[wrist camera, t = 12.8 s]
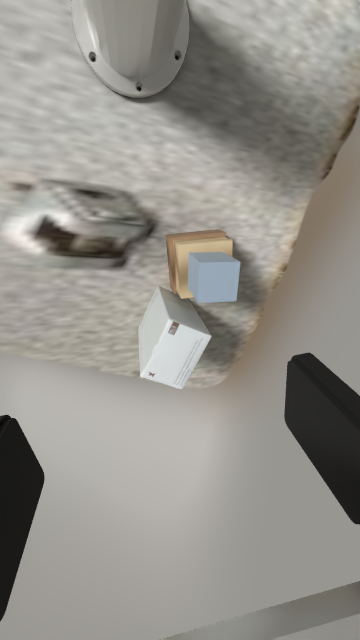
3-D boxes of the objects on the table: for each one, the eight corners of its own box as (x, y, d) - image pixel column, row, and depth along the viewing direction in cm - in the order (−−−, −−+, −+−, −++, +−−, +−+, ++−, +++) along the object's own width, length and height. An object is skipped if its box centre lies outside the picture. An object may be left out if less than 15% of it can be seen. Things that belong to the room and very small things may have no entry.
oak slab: (173, 240, 37) (177, 244, 33) (222, 236, 38) (232, 240, 34) (176, 289, 40) (181, 298, 36) (222, 284, 41) (231, 293, 37)
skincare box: (168, 338, 47) (183, 394, 34) (135, 326, 45) (138, 380, 32) (190, 296, 45) (215, 338, 31) (156, 282, 43) (168, 319, 29)
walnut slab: (165, 234, 40) (168, 238, 37) (217, 229, 41) (225, 232, 38) (170, 286, 44) (173, 294, 40) (218, 280, 45) (226, 287, 41)
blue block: (188, 252, 34) (199, 262, 29) (223, 251, 35) (240, 261, 29) (187, 287, 36) (198, 303, 30) (220, 286, 37) (236, 301, 31)
